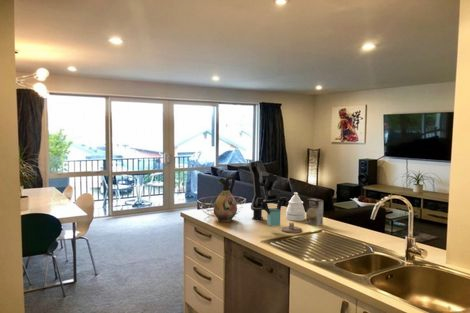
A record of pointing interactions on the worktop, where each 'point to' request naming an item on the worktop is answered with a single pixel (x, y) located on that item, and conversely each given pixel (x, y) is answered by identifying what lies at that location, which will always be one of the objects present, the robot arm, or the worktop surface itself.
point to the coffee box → (314, 212)
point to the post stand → (291, 229)
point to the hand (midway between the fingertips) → (274, 213)
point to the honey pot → (295, 209)
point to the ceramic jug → (225, 201)
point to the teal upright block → (273, 217)
